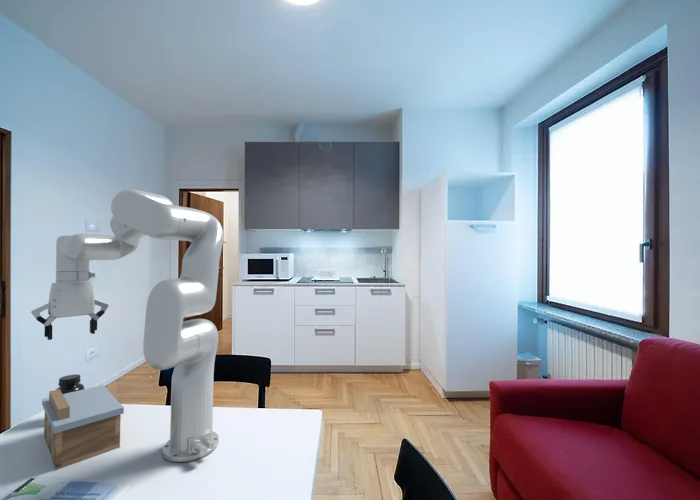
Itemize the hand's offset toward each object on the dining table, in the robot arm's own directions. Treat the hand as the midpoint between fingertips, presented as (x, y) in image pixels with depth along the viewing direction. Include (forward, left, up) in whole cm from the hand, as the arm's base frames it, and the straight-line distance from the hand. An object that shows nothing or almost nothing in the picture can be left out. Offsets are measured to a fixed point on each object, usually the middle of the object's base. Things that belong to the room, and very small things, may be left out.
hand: (71, 336), depth 97 cm
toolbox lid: (-18, 0, -16) cm, 24 cm away
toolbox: (-18, 0, -24) cm, 30 cm away
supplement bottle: (0, 0, -24) cm, 24 cm away
